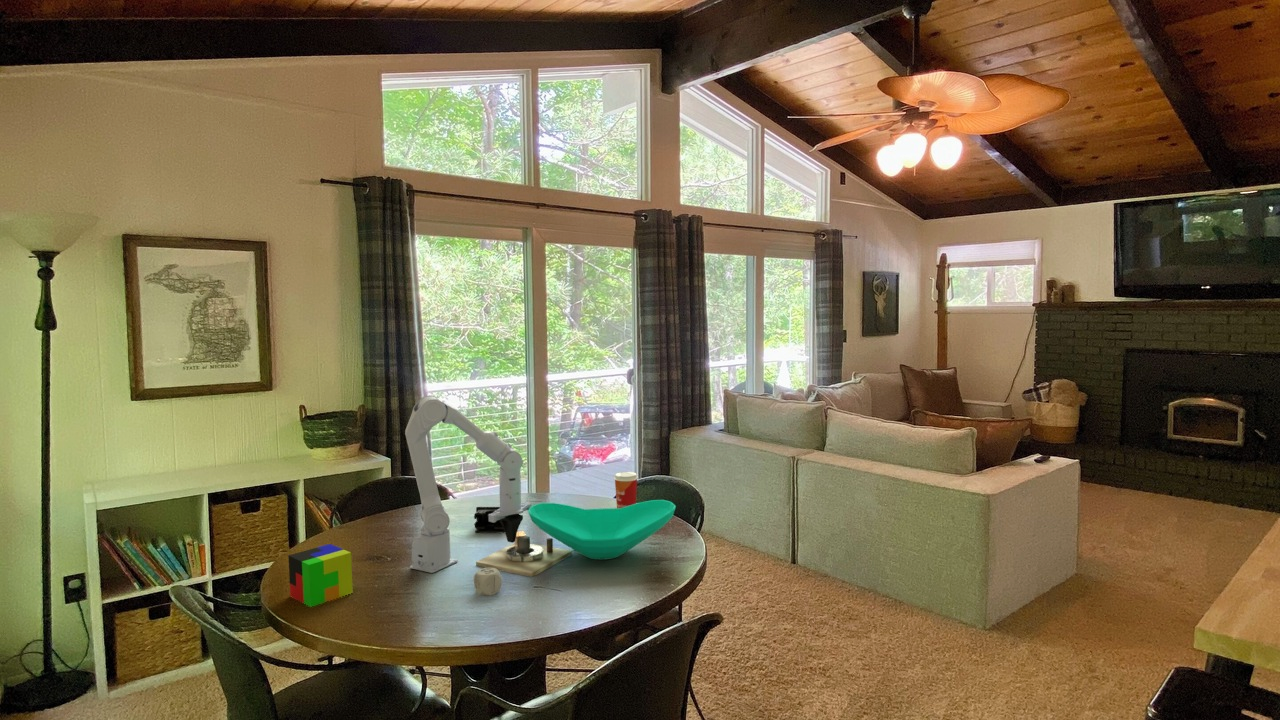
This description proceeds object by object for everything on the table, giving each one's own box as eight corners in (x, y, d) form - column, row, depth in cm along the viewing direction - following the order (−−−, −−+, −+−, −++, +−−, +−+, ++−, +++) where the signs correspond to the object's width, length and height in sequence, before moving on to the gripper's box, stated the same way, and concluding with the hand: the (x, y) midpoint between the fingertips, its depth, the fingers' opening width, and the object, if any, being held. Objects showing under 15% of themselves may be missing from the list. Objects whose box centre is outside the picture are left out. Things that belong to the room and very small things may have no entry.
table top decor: (671, 536, 206) (670, 491, 205) (682, 572, 178) (681, 520, 177) (533, 540, 203) (532, 495, 202) (523, 577, 176) (522, 525, 175)
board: (532, 576, 176) (531, 553, 175) (476, 565, 184) (475, 542, 184) (572, 554, 192) (571, 532, 191) (518, 544, 200) (518, 523, 200)
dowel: (550, 553, 190) (550, 540, 190) (545, 552, 191) (545, 539, 191) (554, 551, 192) (553, 538, 191) (549, 550, 192) (548, 537, 192)
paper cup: (611, 515, 228) (611, 472, 226) (634, 513, 230) (633, 470, 229) (618, 522, 220) (617, 478, 219) (641, 519, 222) (641, 475, 221)
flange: (547, 558, 185) (546, 544, 185) (509, 563, 182) (508, 549, 182) (536, 542, 198) (536, 529, 198) (501, 546, 195) (500, 533, 195)
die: (482, 597, 164) (481, 576, 163) (473, 591, 168) (473, 570, 167) (502, 592, 167) (501, 571, 166) (493, 586, 171) (492, 565, 170)
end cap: (511, 525, 218) (510, 504, 218) (506, 533, 211) (505, 510, 211) (479, 525, 218) (478, 504, 218) (473, 533, 211) (472, 511, 211)
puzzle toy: (331, 583, 173) (330, 543, 173) (352, 593, 167) (351, 552, 166) (290, 596, 166) (288, 555, 165) (310, 608, 159) (308, 564, 159)
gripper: (501, 501, 184) (502, 551, 185) (539, 489, 196) (540, 537, 197) (482, 497, 188) (483, 546, 189) (520, 485, 200) (521, 532, 201)
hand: (511, 541), depth 193 cm, fingers closed
